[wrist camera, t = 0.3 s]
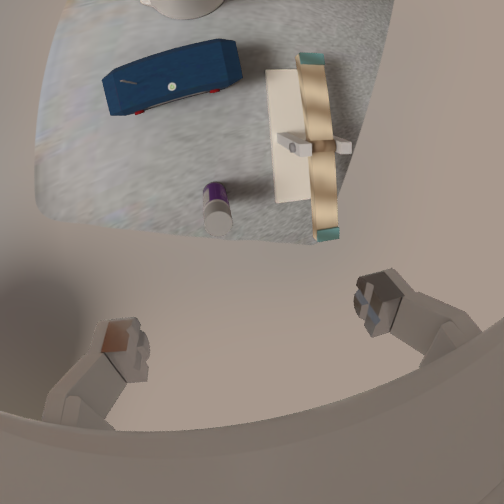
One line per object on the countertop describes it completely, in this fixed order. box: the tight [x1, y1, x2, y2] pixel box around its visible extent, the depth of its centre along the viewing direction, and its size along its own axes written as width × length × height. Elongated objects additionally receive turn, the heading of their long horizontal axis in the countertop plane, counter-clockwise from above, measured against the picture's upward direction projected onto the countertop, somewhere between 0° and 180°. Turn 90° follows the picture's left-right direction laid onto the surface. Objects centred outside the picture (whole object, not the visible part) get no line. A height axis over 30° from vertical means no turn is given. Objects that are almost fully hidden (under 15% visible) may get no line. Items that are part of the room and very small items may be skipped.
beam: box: [295, 53, 339, 242], centre depth 41 cm, size 32×4×3 cm, turn 5°
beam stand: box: [265, 69, 352, 203], centre depth 45 cm, size 28×11×15 cm, turn 5°
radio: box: [102, 39, 243, 116], centre depth 33 cm, size 21×9×20 cm, turn 100°
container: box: [203, 182, 233, 237], centre depth 48 cm, size 5×5×15 cm
